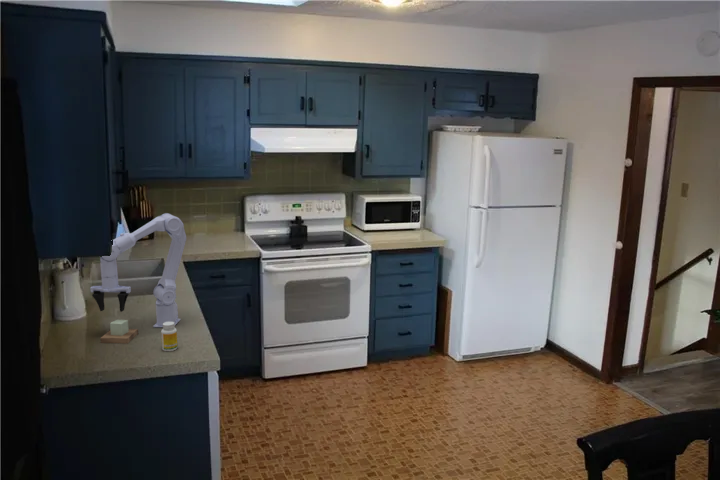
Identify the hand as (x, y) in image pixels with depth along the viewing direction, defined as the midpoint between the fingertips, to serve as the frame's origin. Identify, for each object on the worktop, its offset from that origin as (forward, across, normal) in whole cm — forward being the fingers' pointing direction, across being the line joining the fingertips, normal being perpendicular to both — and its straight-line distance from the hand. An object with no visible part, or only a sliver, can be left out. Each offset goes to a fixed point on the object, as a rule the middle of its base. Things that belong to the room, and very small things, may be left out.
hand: (112, 310), depth 235 cm
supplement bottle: (+10, +26, -13) cm, 31 cm away
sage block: (+8, +4, -4) cm, 9 cm away
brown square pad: (+10, +4, -4) cm, 11 cm away
